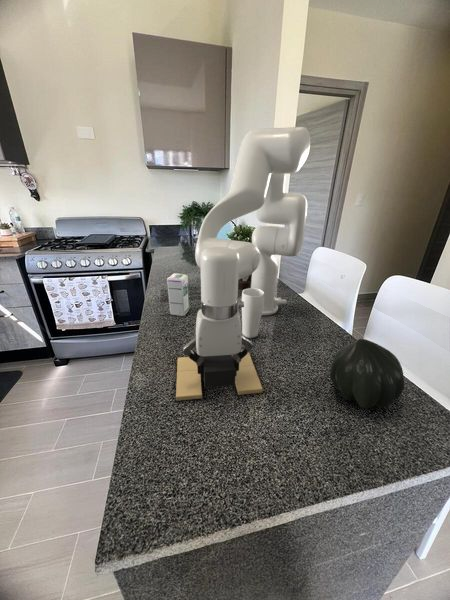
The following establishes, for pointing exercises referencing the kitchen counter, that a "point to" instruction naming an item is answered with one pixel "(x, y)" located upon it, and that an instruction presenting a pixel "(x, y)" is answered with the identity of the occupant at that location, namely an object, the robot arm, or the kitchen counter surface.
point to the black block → (219, 371)
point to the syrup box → (178, 294)
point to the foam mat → (191, 379)
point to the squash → (367, 374)
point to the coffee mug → (245, 282)
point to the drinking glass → (251, 311)
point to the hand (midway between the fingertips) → (218, 373)
